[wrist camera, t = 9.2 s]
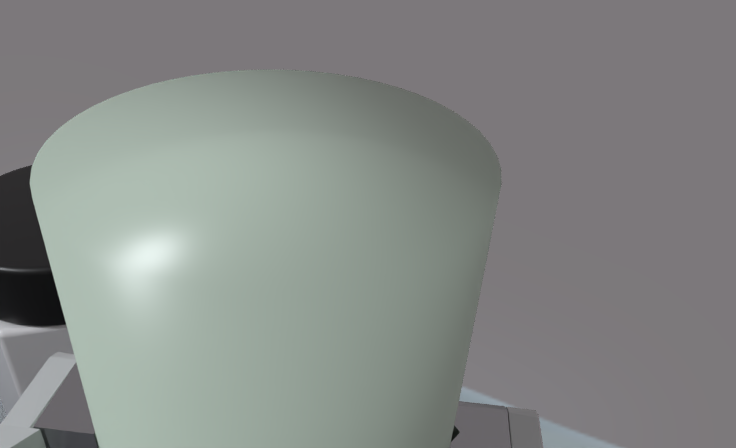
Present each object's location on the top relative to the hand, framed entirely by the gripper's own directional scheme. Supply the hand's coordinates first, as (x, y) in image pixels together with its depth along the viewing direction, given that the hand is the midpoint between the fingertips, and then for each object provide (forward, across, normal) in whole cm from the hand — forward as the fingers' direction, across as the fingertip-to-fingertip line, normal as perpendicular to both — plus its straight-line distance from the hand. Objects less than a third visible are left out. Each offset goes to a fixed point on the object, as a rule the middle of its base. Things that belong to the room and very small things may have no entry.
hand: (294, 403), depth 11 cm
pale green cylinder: (-1, 0, -6) cm, 7 cm away
